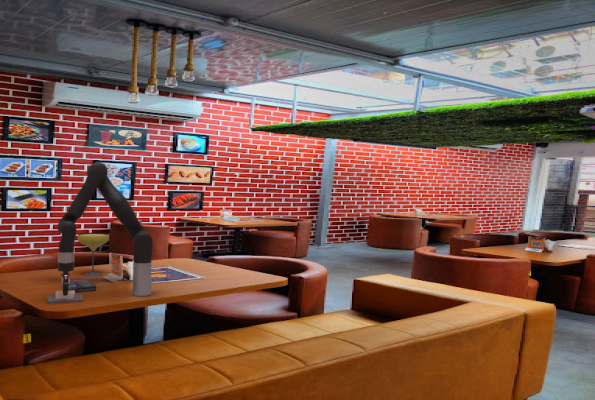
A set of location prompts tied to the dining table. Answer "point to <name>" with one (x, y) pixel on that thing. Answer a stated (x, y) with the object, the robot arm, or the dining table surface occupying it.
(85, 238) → the cocktail glass
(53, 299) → the rubber mat
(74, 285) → the box
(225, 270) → the dining table surface
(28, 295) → the dining table surface
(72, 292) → the white rectangular block
